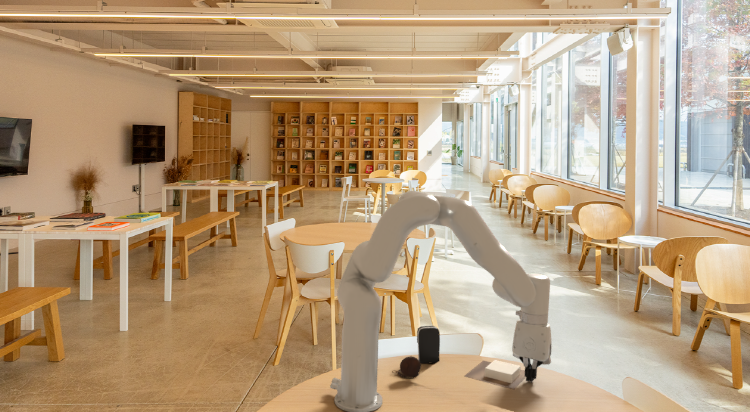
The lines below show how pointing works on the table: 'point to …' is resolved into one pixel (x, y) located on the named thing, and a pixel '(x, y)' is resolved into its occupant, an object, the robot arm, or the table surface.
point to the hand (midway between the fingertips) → (530, 379)
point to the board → (479, 374)
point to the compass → (409, 367)
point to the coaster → (502, 371)
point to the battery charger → (428, 344)
